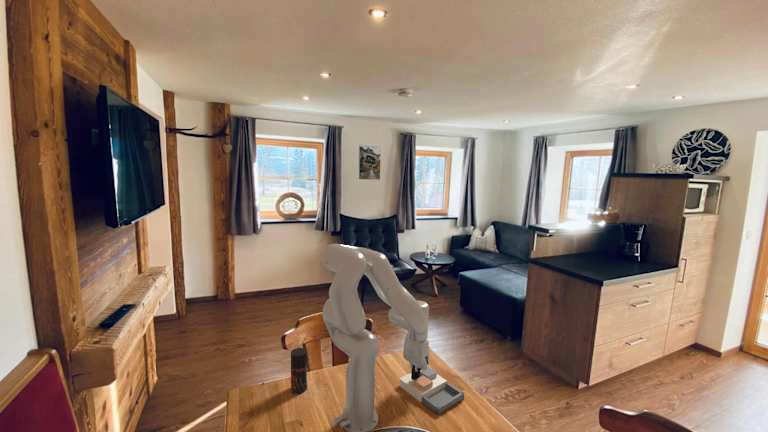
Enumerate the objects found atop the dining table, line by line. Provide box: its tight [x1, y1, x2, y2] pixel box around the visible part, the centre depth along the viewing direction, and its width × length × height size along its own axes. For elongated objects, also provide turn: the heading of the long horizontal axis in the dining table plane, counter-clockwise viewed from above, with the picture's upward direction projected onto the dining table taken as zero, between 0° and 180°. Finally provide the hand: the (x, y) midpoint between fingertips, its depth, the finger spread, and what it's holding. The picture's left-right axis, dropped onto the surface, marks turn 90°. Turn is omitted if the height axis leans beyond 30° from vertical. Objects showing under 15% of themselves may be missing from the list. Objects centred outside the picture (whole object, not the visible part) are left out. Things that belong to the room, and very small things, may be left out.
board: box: [398, 372, 448, 403], centre depth 132 cm, size 14×12×3 cm
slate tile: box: [420, 366, 438, 380], centre depth 134 cm, size 5×5×2 cm
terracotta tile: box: [414, 376, 433, 392], centre depth 128 cm, size 5×5×2 cm
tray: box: [421, 381, 465, 416], centre depth 124 cm, size 14×8×2 cm, turn 129°
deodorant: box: [290, 347, 308, 395], centre depth 127 cm, size 6×6×15 cm
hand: (415, 378), depth 131 cm, fingers closed
